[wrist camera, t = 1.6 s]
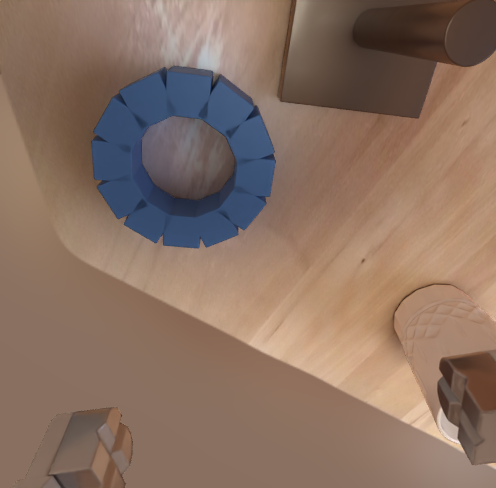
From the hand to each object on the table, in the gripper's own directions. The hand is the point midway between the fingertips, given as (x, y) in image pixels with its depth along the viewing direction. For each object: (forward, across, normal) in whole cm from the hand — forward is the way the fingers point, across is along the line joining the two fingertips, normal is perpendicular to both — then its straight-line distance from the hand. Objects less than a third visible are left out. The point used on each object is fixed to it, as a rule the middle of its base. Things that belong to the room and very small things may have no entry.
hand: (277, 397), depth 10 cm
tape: (+20, +4, -1) cm, 20 cm away
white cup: (+20, -14, +17) cm, 30 cm away
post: (+20, -8, -7) cm, 23 cm away
